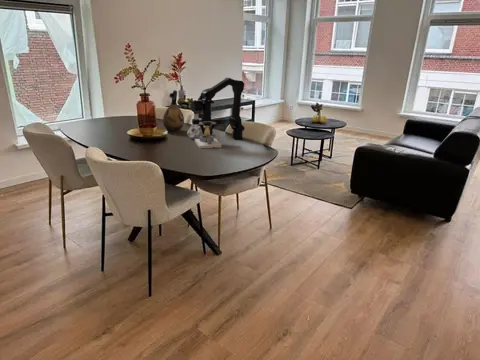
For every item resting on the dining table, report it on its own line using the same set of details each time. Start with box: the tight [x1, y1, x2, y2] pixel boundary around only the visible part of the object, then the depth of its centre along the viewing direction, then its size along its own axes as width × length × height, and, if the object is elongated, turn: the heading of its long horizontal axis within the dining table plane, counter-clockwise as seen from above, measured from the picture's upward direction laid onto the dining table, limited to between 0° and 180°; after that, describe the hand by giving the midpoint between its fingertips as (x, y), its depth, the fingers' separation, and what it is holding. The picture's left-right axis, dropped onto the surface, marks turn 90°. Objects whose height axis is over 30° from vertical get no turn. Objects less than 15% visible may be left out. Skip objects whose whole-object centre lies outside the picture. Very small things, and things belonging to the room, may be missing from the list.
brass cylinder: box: [202, 125, 211, 138], centre depth 226 cm, size 4×4×8 cm
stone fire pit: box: [194, 135, 222, 149], centre depth 224 cm, size 14×18×6 cm
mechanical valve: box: [186, 123, 214, 140], centre depth 243 cm, size 10×18×15 cm
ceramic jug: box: [162, 89, 185, 134], centre depth 252 cm, size 17×15×30 cm
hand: (206, 134), depth 227 cm, fingers closed on brass cylinder, 4 cm apart
